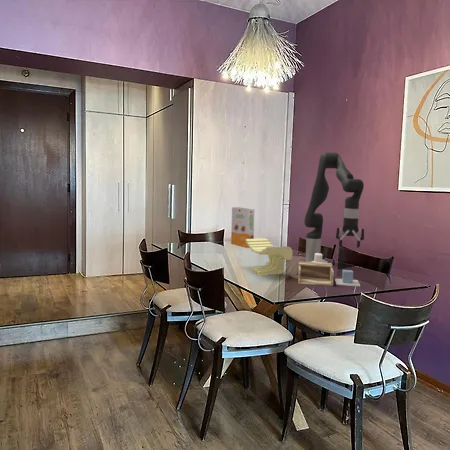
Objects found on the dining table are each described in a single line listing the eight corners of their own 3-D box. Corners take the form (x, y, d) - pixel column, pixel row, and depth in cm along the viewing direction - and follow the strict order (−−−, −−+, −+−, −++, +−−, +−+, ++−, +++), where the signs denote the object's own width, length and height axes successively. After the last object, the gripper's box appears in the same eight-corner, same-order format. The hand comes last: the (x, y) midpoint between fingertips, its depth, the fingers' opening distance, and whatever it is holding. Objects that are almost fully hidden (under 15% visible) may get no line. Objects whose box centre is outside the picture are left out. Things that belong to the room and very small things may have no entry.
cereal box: (253, 247, 332) (254, 209, 329) (246, 248, 329) (247, 209, 325) (237, 243, 351) (238, 207, 347) (231, 243, 348) (232, 207, 344)
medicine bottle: (316, 271, 254) (317, 251, 253) (327, 273, 250) (328, 253, 248) (310, 273, 249) (311, 253, 247) (321, 275, 244) (322, 254, 243)
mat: (334, 279, 234) (334, 278, 234) (357, 280, 232) (357, 279, 232) (336, 285, 222) (336, 283, 222) (360, 286, 220) (360, 285, 220)
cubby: (298, 275, 241) (298, 261, 240) (330, 277, 238) (331, 263, 237) (298, 283, 223) (298, 268, 222) (333, 286, 220) (333, 270, 219)
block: (341, 280, 230) (342, 269, 229) (351, 281, 229) (352, 270, 228) (342, 282, 225) (343, 271, 224) (352, 283, 224) (353, 272, 223)
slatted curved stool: (291, 277, 237) (292, 246, 235) (265, 279, 232) (266, 247, 229) (268, 266, 265) (269, 238, 263) (245, 267, 260) (245, 238, 258)
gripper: (364, 216, 225) (362, 246, 227) (336, 215, 227) (334, 245, 230) (366, 218, 218) (364, 249, 220) (337, 217, 220) (336, 247, 222)
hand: (349, 247), depth 225 cm, fingers open, 8 cm apart
